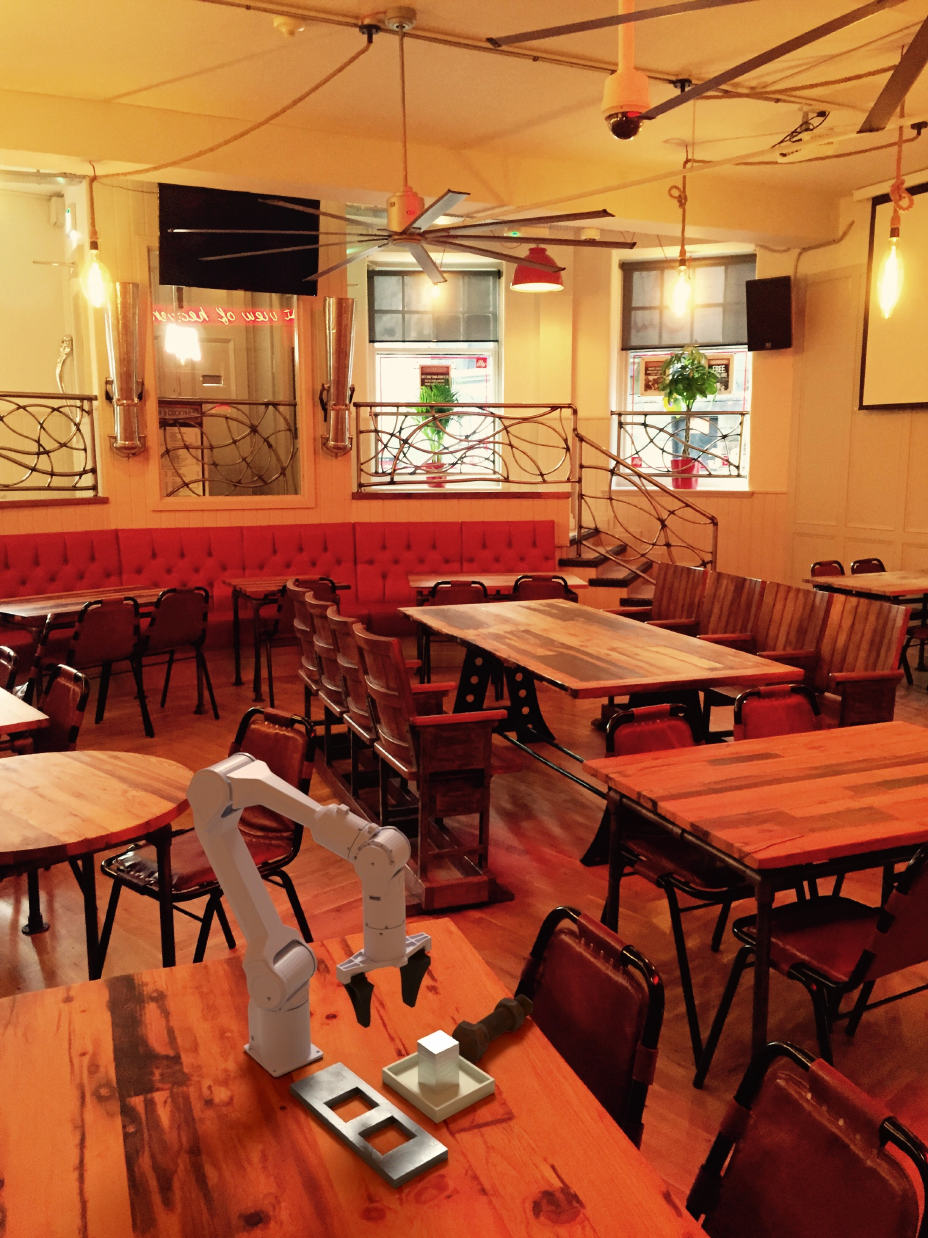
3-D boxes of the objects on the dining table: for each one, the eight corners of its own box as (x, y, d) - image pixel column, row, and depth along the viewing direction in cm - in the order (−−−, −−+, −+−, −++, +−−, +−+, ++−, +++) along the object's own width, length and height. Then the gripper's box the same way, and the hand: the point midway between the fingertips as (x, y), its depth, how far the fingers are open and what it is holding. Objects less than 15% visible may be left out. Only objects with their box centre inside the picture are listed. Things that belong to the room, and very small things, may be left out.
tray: (382, 1081, 134) (382, 1068, 134) (439, 1053, 141) (438, 1041, 140) (436, 1123, 125) (436, 1110, 125) (494, 1092, 131) (494, 1079, 131)
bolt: (529, 1028, 150) (469, 1071, 138) (506, 1004, 153) (445, 1044, 141) (545, 1003, 148) (485, 1045, 136) (522, 978, 150) (461, 1017, 139)
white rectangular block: (418, 1082, 133) (417, 1041, 132) (441, 1070, 135) (440, 1030, 134) (436, 1096, 130) (435, 1054, 129) (459, 1084, 132) (458, 1042, 131)
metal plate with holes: (289, 1093, 132) (289, 1085, 132) (340, 1070, 137) (339, 1062, 137) (394, 1189, 114) (394, 1180, 113) (448, 1158, 119) (448, 1149, 118)
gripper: (356, 947, 124) (358, 1047, 126) (444, 914, 133) (446, 1007, 135) (326, 928, 129) (329, 1024, 131) (413, 898, 139) (415, 987, 140)
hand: (386, 1014), depth 134 cm, fingers open, 7 cm apart
